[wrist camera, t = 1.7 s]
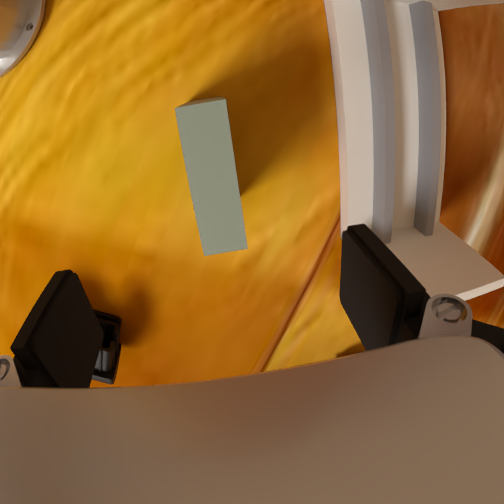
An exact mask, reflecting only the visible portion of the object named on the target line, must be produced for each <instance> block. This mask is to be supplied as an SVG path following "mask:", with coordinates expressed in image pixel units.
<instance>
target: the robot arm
mask: <svg viewBox="0 0 504 504" xmlns="http://www.w3.org/2000/svg"><path fill="white" fill-rule="evenodd" d="M45 1H46V0H0V77H2V76H4V75H5V74H6V73H8V72H9V71H10V70H12V69H13V68H14V67H15V66H16V65H17V64H18V63H19V62H20V61H21V59H22V58H23V57H24V56H25V54H26V53H27V52H28V50H29V48H30V47H31V45H32V44H33V42H34V40H35V38H36V36H37V34H38V32H39V29H40V26H41V23H42V21H43V16H44V12H45ZM340 301H341V304H342V306H343V308H344V310H345V312H346V314H347V315H348V317H349V319H350V321H351V323H352V325H353V327H354V329H355V330H356V332H357V334H358V336H359V338H360V340H361V342H362V344H363V346H364V348H365V350H366V351H363V352H360V353H355V354H351V355H347V356H343V357H338V358H334V359H329V360H325V361H320V362H315V363H310V364H305V365H300V366H295V367H290V368H284V369H279V370H273V371H267V372H261V373H254V374H248V375H241V376H234V377H227V378H219V379H211V380H202V381H193V382H183V383H172V384H160V385H146V386H129V387H105V388H89V386H90V383H91V379H92V376H93V372H94V369H95V365H96V362H97V358H98V355H99V352H100V348H101V345H102V342H103V338H104V334H103V330H102V328H101V326H100V324H99V321H98V319H97V317H96V315H95V313H94V311H93V309H92V307H91V305H90V302H89V300H88V298H87V296H86V294H85V291H84V289H83V287H82V284H81V282H80V280H79V277H78V275H77V274H76V273H73V272H72V271H71V270H70V269H69V270H63V271H57V272H55V274H54V275H53V277H52V278H51V280H50V281H49V283H48V284H47V286H46V287H45V289H44V290H43V292H42V294H41V295H40V297H39V298H38V300H37V302H36V303H35V305H34V307H33V308H32V310H31V312H30V313H29V315H28V317H27V318H26V320H25V322H24V324H23V325H22V327H21V329H20V331H19V332H18V334H17V336H16V338H15V340H14V342H13V343H12V345H11V347H10V349H11V350H12V352H13V353H14V355H15V356H14V358H13V359H12V357H10V356H8V355H2V356H0V504H504V329H503V328H500V327H496V326H493V325H490V324H486V323H483V322H479V321H476V320H473V319H472V310H471V308H470V306H469V305H468V304H467V303H466V302H465V301H464V300H463V299H461V298H459V297H457V296H455V295H452V294H437V295H435V296H432V297H430V296H429V294H428V293H427V292H426V289H425V288H424V287H423V285H422V284H421V283H420V282H419V281H418V280H417V279H416V278H415V276H414V275H413V274H412V273H411V272H410V271H409V270H408V269H407V268H406V266H405V265H404V264H403V263H402V262H401V261H400V260H399V259H398V258H397V257H396V256H395V255H394V253H393V252H392V251H391V250H390V249H389V248H388V247H387V246H386V245H385V244H384V243H383V242H382V241H381V240H380V239H379V238H378V237H377V236H376V235H375V234H374V233H373V232H372V231H371V230H370V229H369V228H368V227H367V226H366V225H365V224H357V225H350V226H348V227H347V230H345V231H343V233H342V257H341V279H340Z"/></svg>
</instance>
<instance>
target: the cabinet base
mask: <svg viewBox="0 0 504 504" xmlns="http://www.w3.org/2000/svg"><path fill="white" fill-rule="evenodd" d="M499 3H504V0H324V5H325V12H326V18H327V25H328V33H329V40H330V48H331V57H332V66H333V75H334V86H335V97H336V109H337V124H338V141H339V162H340V199H341V239H342V233H343V231H345V230H347V227H348V226H350V225H357V224H365V225H366V226H367V227H368V228H369V229H370V230H371V231H372V232H373V233H374V234H375V235H376V236H377V237H378V238H379V239H380V240H381V241H382V242H383V243H384V244H385V245H386V246H387V247H388V248H389V249H390V250H391V251H392V252H393V253H394V255H395V256H396V257H397V258H398V259H399V260H400V261H401V262H402V263H403V264H404V265H405V266H406V268H407V269H408V270H409V271H410V272H411V273H412V274H413V275H414V276H415V278H416V279H417V280H418V281H419V282H420V283H421V284H422V285H423V287H424V288H425V289H426V292H427V293H428V294H429V296H430V297H432V296H435V295H437V294H452V295H455V296H457V297H459V298H461V299H463V300H464V301H465V300H468V299H471V298H474V297H477V296H479V295H482V294H485V293H488V292H490V291H493V290H496V289H498V288H501V287H503V286H504V275H503V274H502V273H500V272H499V271H498V270H497V269H496V268H495V267H494V266H493V265H491V264H490V263H489V262H488V261H487V260H486V259H484V258H483V257H482V256H481V255H480V254H478V253H477V252H476V251H475V250H474V249H472V248H471V247H470V246H469V245H468V244H466V243H465V242H464V241H463V240H461V239H460V238H459V237H458V236H456V235H455V234H454V233H453V232H451V231H450V230H449V229H447V228H446V227H445V226H443V225H442V224H441V223H439V217H440V209H441V200H442V191H443V180H444V166H445V147H446V89H445V70H444V57H443V47H442V38H441V30H440V23H439V16H438V11H442V10H448V9H454V8H461V7H469V6H477V5H487V4H499Z"/></svg>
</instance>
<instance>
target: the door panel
mask: <svg viewBox="0 0 504 504" xmlns="http://www.w3.org/2000/svg"><path fill="white" fill-rule="evenodd" d="M175 112H176V117H177V123H178V129H179V134H180V140H181V145H182V150H183V156H184V161H185V166H186V171H187V176H188V181H189V186H190V191H191V196H192V201H193V206H194V211H195V215H196V220H197V225H198V229H199V234H200V239H201V243H202V248H203V252H204V256H207V255H213V254H219V253H225V252H230V251H236V250H242V249H248V247H247V240H246V234H245V227H244V220H243V213H242V207H241V200H240V193H239V186H238V180H237V173H236V166H235V159H234V152H233V145H232V139H231V132H230V125H229V118H228V111H227V104H226V99H225V98H223V97H214V98H208V99H202V100H197V101H191V102H187V103H185V104H183V105H181V106H178V107H176V108H175Z"/></svg>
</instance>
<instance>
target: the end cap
mask: <svg viewBox="0 0 504 504" xmlns="http://www.w3.org/2000/svg"><path fill="white" fill-rule="evenodd" d="M93 311H94V313H95V315H96V317H97V319H98V321H99V324H100V326H101V328H102V330H103V334H104V338H103V342H102V345H101V348H100V352H99V355H98V358H97V362H96V365H95V369H94V372H93V376H92V380H96V381H100V382H103V383H107V384H114V381H115V378H116V374H117V369H118V364H119V358H120V352H121V344H120V343H119V335H120V327H121V319H120V317H118V316H115V315H111V314H107V313H104V312H100V311H96V310H93Z"/></svg>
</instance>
